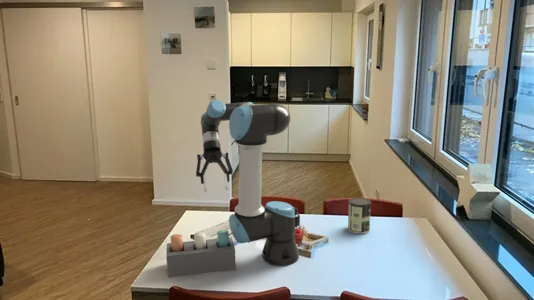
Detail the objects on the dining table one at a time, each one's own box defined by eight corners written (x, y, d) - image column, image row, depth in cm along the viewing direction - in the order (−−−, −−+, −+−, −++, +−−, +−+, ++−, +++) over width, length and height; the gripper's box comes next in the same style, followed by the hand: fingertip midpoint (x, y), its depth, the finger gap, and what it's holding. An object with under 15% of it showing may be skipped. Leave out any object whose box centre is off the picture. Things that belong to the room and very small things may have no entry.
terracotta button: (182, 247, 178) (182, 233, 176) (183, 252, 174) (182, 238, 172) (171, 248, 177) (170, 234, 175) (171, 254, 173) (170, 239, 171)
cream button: (205, 245, 179) (205, 231, 178) (206, 250, 175) (205, 236, 174) (194, 246, 179) (193, 232, 177) (195, 251, 174) (194, 237, 173)
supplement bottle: (298, 236, 206) (298, 211, 203) (284, 235, 207) (283, 210, 204) (300, 230, 212) (300, 206, 209) (286, 229, 213) (286, 205, 211)
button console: (232, 257, 186) (231, 237, 184) (235, 270, 176) (235, 249, 174) (168, 264, 182) (166, 243, 179) (167, 277, 171) (166, 255, 169)
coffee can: (367, 224, 217) (368, 197, 214) (371, 233, 207) (373, 204, 204) (346, 224, 218) (346, 197, 214) (349, 233, 208) (350, 205, 204)
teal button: (228, 243, 181) (227, 229, 180) (229, 248, 177) (229, 234, 176) (217, 244, 180) (216, 230, 179) (218, 249, 176) (217, 235, 175)
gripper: (234, 147, 206) (240, 191, 194) (187, 149, 202) (190, 195, 190) (235, 138, 199) (241, 183, 188) (187, 140, 196) (190, 187, 184)
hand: (216, 189), depth 189 cm, fingers open, 8 cm apart
